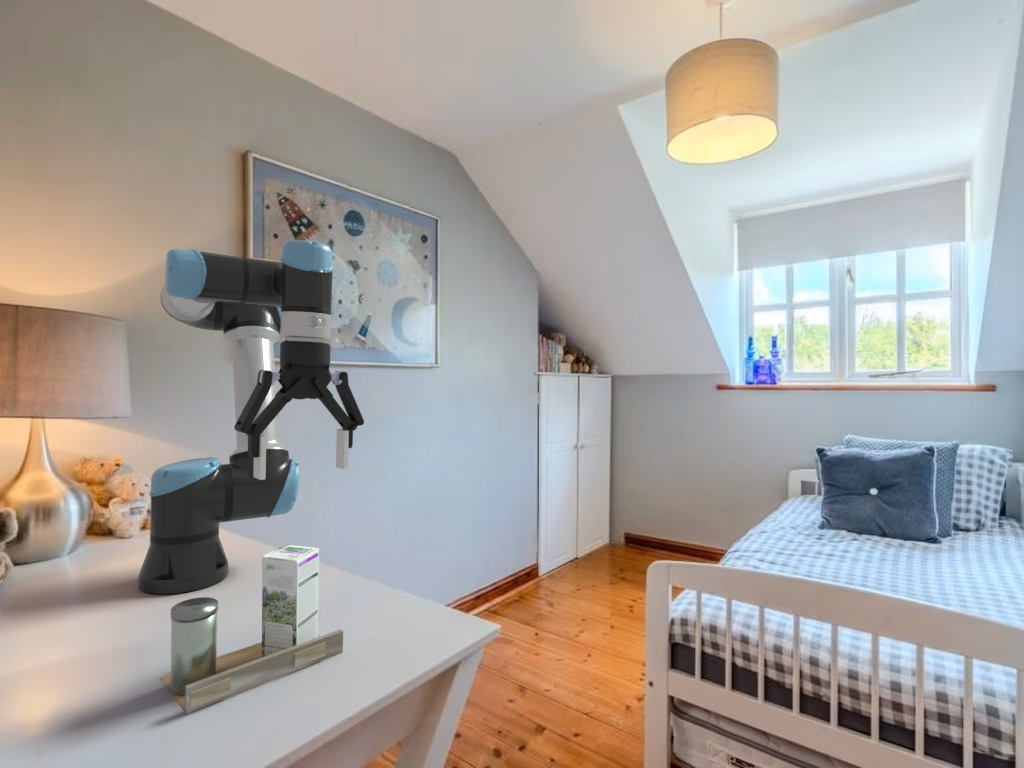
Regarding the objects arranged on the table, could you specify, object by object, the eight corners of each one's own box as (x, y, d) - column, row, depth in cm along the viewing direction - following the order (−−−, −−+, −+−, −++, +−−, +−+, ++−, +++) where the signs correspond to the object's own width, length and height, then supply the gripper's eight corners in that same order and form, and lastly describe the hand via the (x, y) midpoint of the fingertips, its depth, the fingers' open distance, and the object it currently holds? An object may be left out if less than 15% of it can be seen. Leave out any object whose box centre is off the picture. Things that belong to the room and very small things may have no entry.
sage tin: (162, 685, 68) (163, 607, 68) (205, 667, 72) (206, 593, 72) (181, 702, 65) (182, 620, 65) (224, 682, 69) (226, 605, 69)
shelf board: (159, 686, 70) (159, 654, 70) (306, 634, 85) (306, 607, 85) (187, 725, 63) (188, 689, 63) (343, 660, 78) (344, 631, 77)
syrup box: (319, 643, 80) (321, 545, 80) (295, 664, 74) (297, 559, 74) (285, 638, 81) (287, 542, 81) (259, 658, 75) (260, 555, 75)
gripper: (230, 335, 75) (228, 488, 75) (386, 344, 93) (382, 467, 93) (212, 336, 80) (210, 478, 81) (363, 344, 98) (360, 461, 98)
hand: (302, 473), depth 87 cm, fingers open, 13 cm apart
